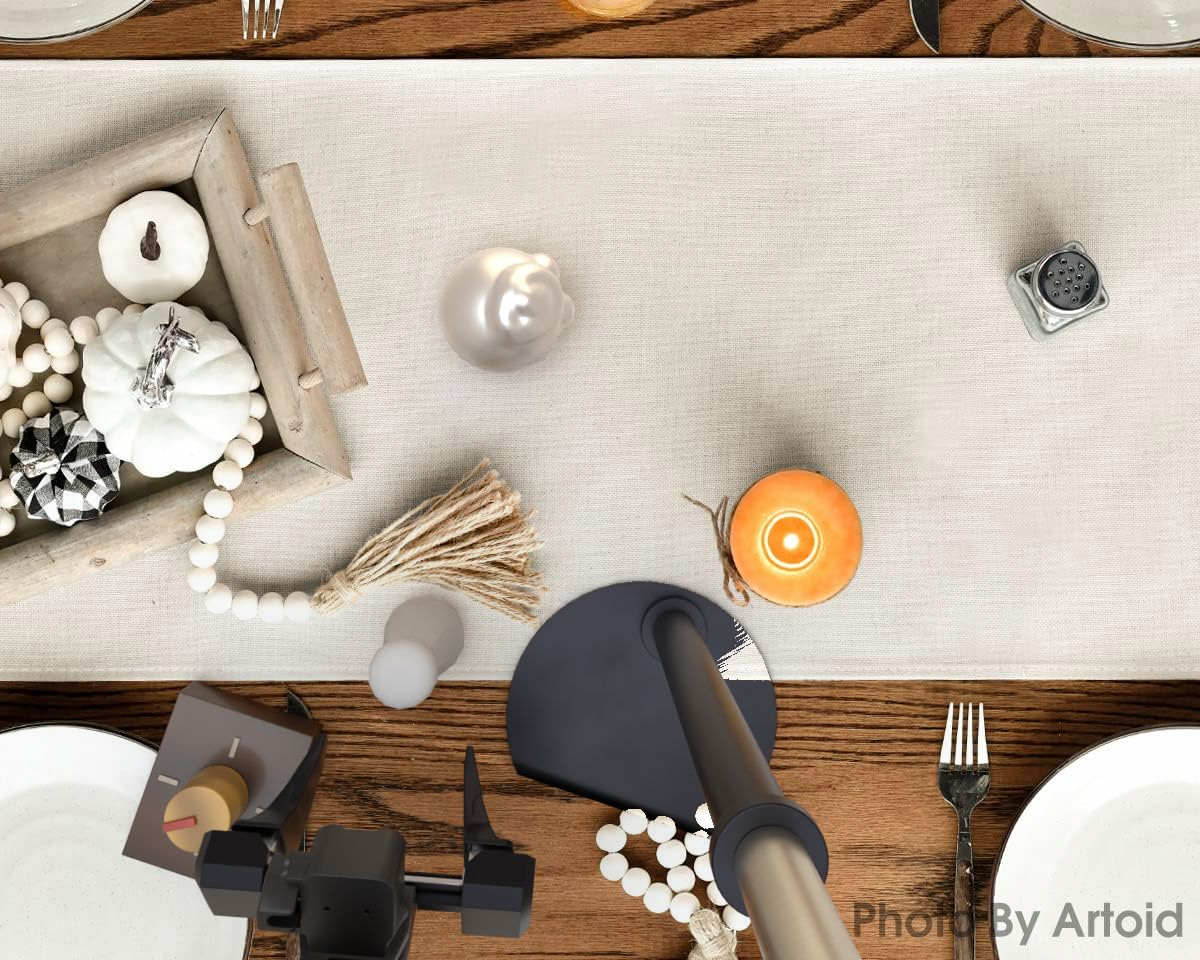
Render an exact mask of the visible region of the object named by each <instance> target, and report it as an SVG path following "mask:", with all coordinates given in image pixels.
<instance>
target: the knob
mask: <svg viewBox="0 0 1200 960" xmlns="http://www.w3.org/2000/svg"><path fill="white" fill-rule="evenodd" d="M247 804H248V789H247V785H246V783H245V781H244V779H243V778H242V777H241V775H240V774H239V773H238V772H236V771H235V770H233V769H231V768H229V767H226V766H221V765H214V766H209V767H206V768H204V769H202V770H200V771H199V772H197V773H196V774H195V775H194V776H193V777H192V778H191V779H190V780H189V781H188V782H187V783H186V784H185V785H184V786H183V787H182V788H181V789H180V790H179V791H178V792H177V793H176V794H175V795H174V797H173V798H172V799H171V800H170V801H169V803H168V805H167V807H166V810H165V814H164V824H163V830H164V833H165V832H166V833H167V835H168V837H169V838H170V840H171V841H172V842H173V843H174V844H175V845H176V846H177V847H179V848H180V849H182V850H185V851H188V852H193V853H198V852H199V849H200V846H201V843H202V839H203V836H204V833H206V832H208V831H211V830H223V831H230V830H231V829H230V827H231V825H232V824H233V822H234V821H235V820H237V819H240V817H241V816H242V815H243V813H244V812H245V810H246V807H247Z"/></svg>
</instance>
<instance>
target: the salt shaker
mask: <svg viewBox="0 0 1200 960" xmlns="http://www.w3.org/2000/svg"><path fill="white" fill-rule="evenodd" d="M464 647H465V626H464V624H463V621H462V620H461V617H460V615H459V611H458V610H456V609H455V608H454V607H453V606H451V605H450V604H449V603H448V602H447V601H446V600H444V599H442V598H438V597H434V596H431V595H421V596H418V597H413V598H408V599H406V600H405V601H403V602H402V603H401V604H399V605H398V606H396V607H395V608H393V609H392V610H391V613H390V614H389V616H388V619H387V621H386V623H385V624H384V628H383V643H382V645H381V646H380V647H379V648H378V649H376V651H375V653H374V654H373V656H372V658H371V661H370V662H369V665H368V666H369V668H368V669H369V670H368V684H369V686H370V689H371V691H372V694H373V696H374V697H375V698H376V699H377V700H378V701H379V702H381V704H383V705H384V706H385V707H390V708H394V709H397V710H404V709H410V708H414V707H417V706H419V704H421V703H422V702H423V701H425V700H426V699H427V698H428V697H430V696H431V694H432V692H433V690H434V688H435V686H436V685H437V683H438V679H439V676H440V675H442V674H444V673H445V672H446V671H448V670H449V669H450V668H451V667H453V666H455V665H456V663H457V661H458V659H459V657H460V655H461V654H462V651H463V649H464Z"/></svg>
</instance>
